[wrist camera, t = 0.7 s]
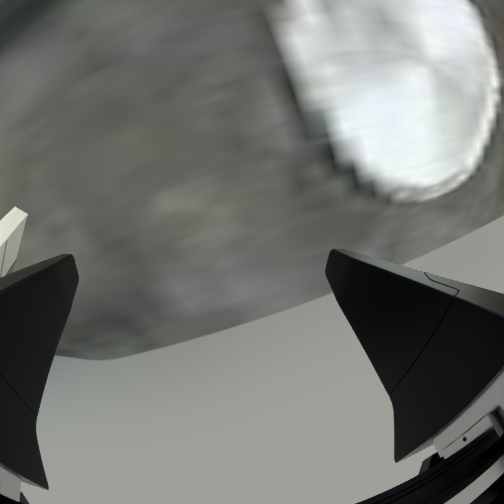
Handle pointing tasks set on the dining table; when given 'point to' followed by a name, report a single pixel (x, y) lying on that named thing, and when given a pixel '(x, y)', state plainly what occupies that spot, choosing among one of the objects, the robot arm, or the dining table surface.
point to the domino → (10, 238)
